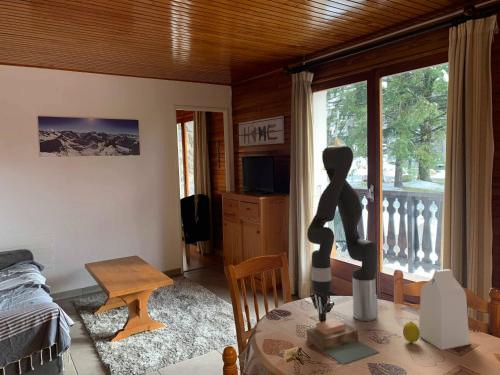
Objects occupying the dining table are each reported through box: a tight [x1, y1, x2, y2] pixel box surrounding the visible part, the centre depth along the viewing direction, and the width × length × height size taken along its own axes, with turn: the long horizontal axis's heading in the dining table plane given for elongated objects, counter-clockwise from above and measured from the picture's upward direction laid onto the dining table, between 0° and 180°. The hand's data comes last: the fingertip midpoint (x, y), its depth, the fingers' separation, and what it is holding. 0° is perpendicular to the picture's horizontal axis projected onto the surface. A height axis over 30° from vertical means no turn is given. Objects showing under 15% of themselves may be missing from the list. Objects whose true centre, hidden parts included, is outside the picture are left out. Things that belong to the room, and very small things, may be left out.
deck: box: [306, 320, 359, 352], centre depth 142 cm, size 16×10×4 cm, turn 116°
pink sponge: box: [315, 318, 345, 335], centre depth 143 cm, size 9×6×2 cm, turn 116°
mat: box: [323, 339, 380, 365], centre depth 133 cm, size 16×10×1 cm, turn 116°
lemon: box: [402, 321, 420, 344], centre depth 138 cm, size 6×6×8 cm
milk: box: [418, 268, 470, 351], centre depth 139 cm, size 12×12×26 cm
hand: (322, 321), depth 147 cm, fingers closed
